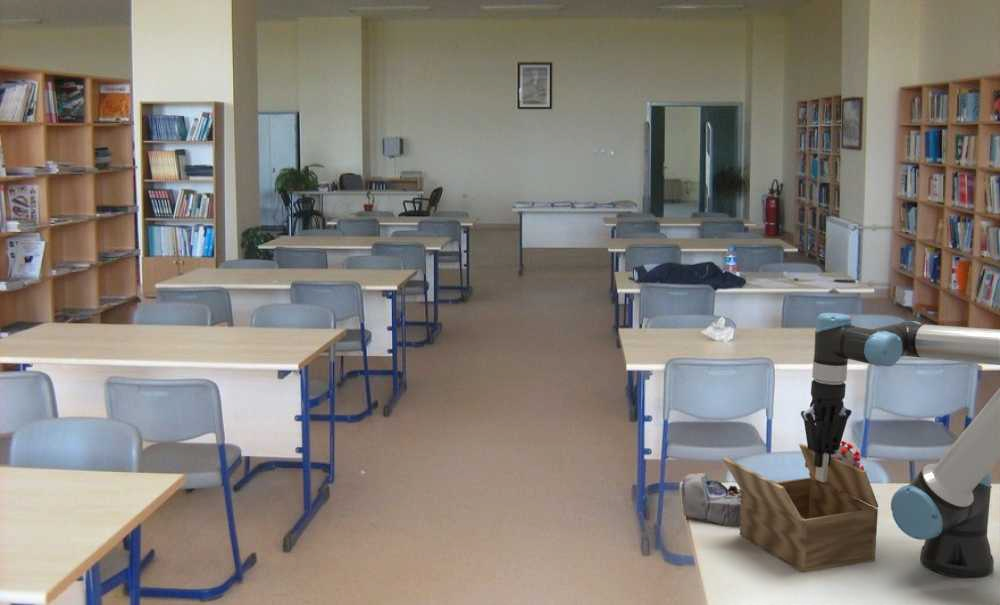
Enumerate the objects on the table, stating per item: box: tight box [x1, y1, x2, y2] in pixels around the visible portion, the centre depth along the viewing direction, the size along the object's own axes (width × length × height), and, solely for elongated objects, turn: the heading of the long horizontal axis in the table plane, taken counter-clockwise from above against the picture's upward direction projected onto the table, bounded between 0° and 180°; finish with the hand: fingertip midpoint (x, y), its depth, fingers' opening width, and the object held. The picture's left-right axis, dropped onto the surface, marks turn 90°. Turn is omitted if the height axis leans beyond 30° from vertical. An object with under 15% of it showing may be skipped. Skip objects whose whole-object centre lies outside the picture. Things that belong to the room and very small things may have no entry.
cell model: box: [680, 472, 741, 526], centre depth 274 cm, size 13×11×20 cm
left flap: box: [721, 456, 803, 521], centre depth 249 cm, size 23×10×1 cm
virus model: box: [804, 440, 865, 493], centre depth 291 cm, size 14×15×15 cm
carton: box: [739, 476, 879, 574], centre depth 255 cm, size 24×20×12 cm
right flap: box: [798, 442, 879, 509], centre depth 256 cm, size 23×10×1 cm
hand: (820, 480), depth 254 cm, fingers closed
